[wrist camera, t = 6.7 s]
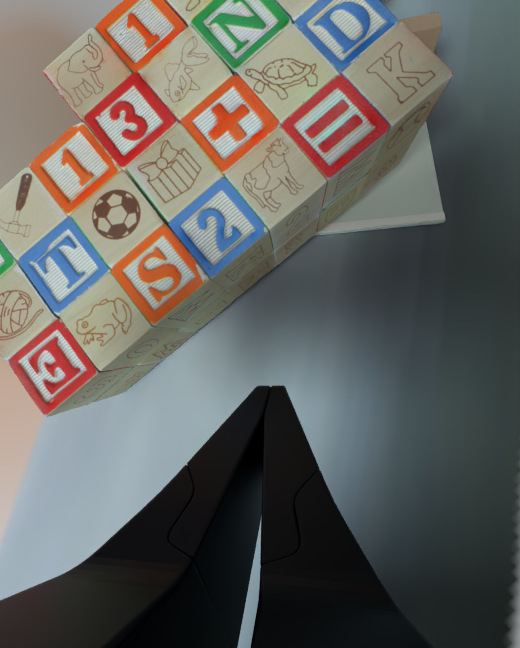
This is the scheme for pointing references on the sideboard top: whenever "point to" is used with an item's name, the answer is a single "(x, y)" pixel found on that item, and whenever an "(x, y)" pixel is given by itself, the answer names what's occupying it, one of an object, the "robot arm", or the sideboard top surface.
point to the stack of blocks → (193, 174)
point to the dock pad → (400, 174)
